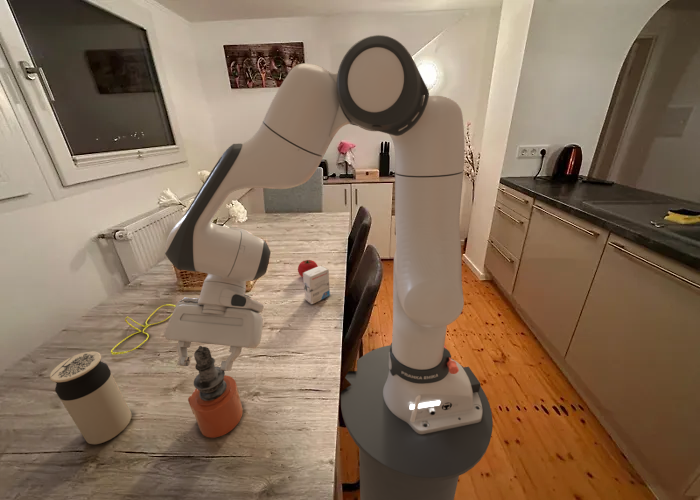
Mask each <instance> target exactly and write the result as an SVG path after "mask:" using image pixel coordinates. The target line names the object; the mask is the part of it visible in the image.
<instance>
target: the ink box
mask: <svg viewBox="0 0 700 500" xmlns="http://www.w3.org/2000/svg"><path fill="white" fill-rule="evenodd" d="M317 266H318V267H316V268H313V269H311V270H308V271H306V272H304V273H303V277H302V282H303V288H304V299H305V300H306V302H308V303H309V304H310V305H314V304H316V303H318V302H321V301H322V300H324V299H326V298H328V297H330V296H331V291H330V274H329V269H328V268H327V267H325V266H323V265H317Z"/></svg>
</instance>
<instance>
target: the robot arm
mask: <svg viewBox="0 0 700 500" xmlns="http://www.w3.org/2000/svg"><path fill="white" fill-rule="evenodd" d="M463 116H464V115H463V111H462V108H461V106H460V105H459V104H458V103H457V102H456V101H455V100H453V99H451V98H450V97H447V96H442V95H430V92H429V89H428V87H427V85H426V83H425V81H424V79H423V77H422V75H421V72H420V71H419V69H418V66H417V64H416V62H415V60H414V57H412V55H411V53H410V52H409V51H408V49H407V48H406V46H404V45H403V44H402V43H401V42H400V41H398V40H397V39H395V38H392V37H391V36H388V35H383V34H375V35H370V36H366V37H364V38H362V39H360V40H358V41H357V42H355V43H354V44H353V45H352V46H351V47H350V48H349V49H348V50H347V52H346V53H345V55H344V56H343V58H342V60H341V62H340V64H339V67H338V70H337V72H331V71H330V70H329V71H328V70H327V69H325V68H324V67H323V66H320V65H317V64H314V63H306V62H305V63H304V62H303V63H298V64H297V65H294V67H292V68H291V70H289V72H288V73H287V75H286V77H285V78H284V79H283V81H282V83H281V84H280V86H279V87H278V89H277V91H276V93H275V95H274V97H273V99H272V100H271V102H270V105H269V107H268V108H267V111H266V113H265V115H264V118H263V121H262V123H261V125H260V127H259V128H258V130H257V131H256V132H255V133H254V135H253V136H252V137H250V138H249V139H248V140H246V141H244V142H243V143H233V144H231V145H230V146H229V147H228V148H226V150H225V151H224V152H223V153H222V155H221V156H220V157H219V159H218V160H217V162H216V163H215V165H214V167H213V168H212V170H211V171H210V172H209V174H208V176H207V178H206V179H205V181H204V183H203V184H202V186H201V187H200V188H199V190H198V192H197V193H196V195H195V197H194V198H193V200H192V202H191V204H190V205H189V207H188V208H187V210H186V211H185V213H184V214H183V216H182V217H181V219H179V220H178V222H177V223H175V225H174V226H173V228H172V229H171V230H170V231H169V234H168V236H167V239H166V241H165V246H164V248H165V252H164V255H165V256H166V257H167V260H169V262H170V263H171V264H172V265H173V266H174V267H175V268H176V270H182V271H188V272H195V273H197V272H199V273H204V274H207V275H206V277H205V278H204V281H203V283H202V287H201V290H200V294H199V297H184V298H183V299H181V300H179V301H177V302H176V304H175V305H176V307H174V310H173V311H172V313H171V314H172V315H171V314H170V315H171V317H170V318H168V319H169V320H168V322H167V324H166V327H165V329H164V332H163V336H164V339H165V340H168V341H176V342H177V345H176V349H177V353H178V356H179V357H178V360H177V363H176V365H177V366H179V367H189V366H190V364H191V360H192V356H189V352H188V351H189V350H188V348H191V344H192V343H196V344H205V345H215V346H216V345H217V346H226V347H229V351H228V352H229V353H230V354H229V355H228V357H227V358H226V360H221V363H220V366H219V367H220V370H222V371H224V372H230V371H232V368H233V364H234V362H235V361H236V360H237V359H238V357H239V356H240V355H241V353H242V348H244V349H245V348H246V349H257V348H258V346H259V345H260V344H261V342H262V341H261V339H262V335H263V327H264V320H263V319H264V318H263V316H262V315H261V313H263V311H264V308H265V305H264V304H263V302H261V301H259V300H257V299H255V298H252V297H251V296H249V295H247V294H246V291H247V282H254V281H255V280H256V281H257V280H259V279H260V278H262V277H263V276H264V275H266V274H267V270H268V267H269V264H270V263H269V262H270V258H271V249H270V247H269V245H268V243H267V241H266V240H265V239H263V238H261V237H259V236H257V235H254V234H253V233H252V232H250V231H249V230H247V229H245V228H242V227H236V226H232V227H231V226H230V227H226V226H224V225H220V224H217V223H214V222H212V221H213V220H214V217H215V216H216V214H217V213H218V212H219V210H220V208H221V207H222V205H223V204H224V203H225V201H226V199H227V198H229V196H230V195H231V194H232V193H234V192H237V191H239V190H245V189H273V190H286V189H287V190H288V189H293V188H296V187H298V186H299V187H300V186H301V185H304V184H305V183H307V182H308V181H309V180H310V179H311V178H312V177H313V175H314V174H315V172H316V171H317V170H318V168H319V166H320V164H321V162H322V160H323V159H324V156H325V155H326V152H327V151H328V148H329V146H330V145H331V143H332V141H333V139H334V137H335V136H336V134H337V133H338V132H339V131H340V130H341V129H342V128H343V127H345V126H347V125H352V126H356V127H359V128H361V129H363V130H366V131H369V132H379V133H380V132H381V133H382V134H383V133H384V134H388V135H389V137H390V138H391V140H392V144H393V149H394V222H395V223H394V224H395V227H394V229H395V252H394V254H393V274H392V275H393V276H392V277H393V278H392V281H393V283H392V333H391V334H392V336H391V343H390V345H391V346H390V352H389V369H390V370H389V375H388V378H387V381H386V383H385V385H384V388H383V397H384V400H385V403H386V405H387V407H388V408H389V409H390V411H391V412H392V413H393V414H394V415H396V416H397V417H398V418H400V419H402V420H404V421H405V422H407V423H408V424H409V425H410V426H411V427H412V428H413V430H414V431H415V432H417V433H418V434H426V433H431V432H436V431H441V430H445V429H450V428H455V427H460V426H465V425H469V424H474V423H478V422H481V419H482V404H481V401H480V398H479V395H478V393H477V392H479V390H480V386H482V384H481V382H480V380H478V379H479V378H477V376H476V375H475V373H474V372H473V371H472V369H471V368H470V366H463V365H462V364H460V363H459V362H458V361H456V360H455V359H453V358H452V355H451V351H450V350H449V349H447V346H446V344H445V341H446V337H447V336H446V335H447V329H448V328H447V327H448V326H449V325H451V324H452V323H454V322H455V321H456V320H457V319H458V318H459V317H460V316H461V314H462V312H463V310H464V306H465V304H464V303H465V300H464V290H463V278H462V275H463V274H462V271H463V270H462V269H463V268H462V263H463V262H462V243H461V242H462V241H461V225H460V224H461V223H460V221H461V219H460V217H461V204H462V193H463V192H462V191H463V181H464V171H465V154H466V153H465V152H466V151H465V150H466V149H465V147H466V145H465V143H466V142H465V125H464V119H463V118H464V117H463ZM452 359H453V360H452ZM461 365H462V366H463V367H462V366H461ZM476 408H477V409H476ZM478 409H479V410H478ZM424 426H427V427H424Z"/></svg>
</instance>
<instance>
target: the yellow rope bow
mask: <svg viewBox="0 0 700 500" xmlns="http://www.w3.org/2000/svg"><path fill="white" fill-rule="evenodd" d="M166 306H167V307H173V308H175V307H176V304H172V303H171V304H170V303H167V304H163V305H160V306H159V307H158V308H156V309H155V310H154V311H153V312H152V313H151V314H150V315H149V316H148V318H147V319H146V320H145V323H144V324H145V325H143V324H141V323H139V322H137V321H135V320H134V319H133V318H131V317H130V316H126V317H125V319H124V321H125V323H126V324H127V325H129V326H130V327H131V328H133V330H136V332H134V333H131V334H129V335H128V336H126V337H125V338H124V339H122V340H121V341H120V342H118V343H117V344H116V345H115V346H113V348H112V349H110V354H111V355H113V356H115V355H123V354H127V353H130V352H133V351H135V350H137V349H138V348H139V347H141V346H142V345H143V344H144V343H145V342H147V341H148V340H149V338H150V335H149V333H148V332H145V330H146V329H147V328H148V327H150V326H154V325H158V324H161V323H163V322H166V321H167V320H168V319H170V317H171V315H172V313H171V314H170V315H169V316H168V317H166V318H165V319H163V320H160V321H158V322H154V323H150V324H148V321H149V319H150V318H151V317H152V316H153V315H154V314H155V313H156V312H157V311H159V309H161V308H162V307H166ZM127 319H129V320H130V321H131V322H133V323H135V324H136V325H138V326H140V327H142V328H143V329H142V330H141V329H139V328H137V327H135V326H133V325H132V324H131V323H129V321H128V320H127ZM141 332H142V334H144V335H146V339H145V340H143V342H141V343H140V344H139V345H137V346H136V347H134V348H132V349H130V350H125V351H118V352H116V351H115V352H114V350H115V349H116V348H117V347H118V346H120V344H122V343H123V342H124V341H126V340H127V339H129V338H130V337H132V336H134V335H136V334H139V333H141Z"/></svg>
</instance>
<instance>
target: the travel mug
mask: <svg viewBox="0 0 700 500" xmlns="http://www.w3.org/2000/svg"><path fill="white" fill-rule="evenodd" d="M101 360H102V354H101V353H100V352H98V351H85V352H81V353H78V354H75V355H73V356H70V357H69V358H66V359H65V360H63V361H62V362H60V363H59V364H58V365H57V366H55V367H54V368H53V369H52V370H51V372H50V373H49V380H50V381H51V382H52V383H55V388H54V391H55V393H56V395H57V396H58V398H59V400H60V401H61V403H62V404H63V406H64V408H65V409H66V411H67V412H68V414H69V416H70V417H71V419H72V421H73V422H74V424H75V425H76V427H77V428H78V431H79V432H80V433H81V435H82V437H83V438H84V440H85V442H86V443H87V444H90V445H100V444H102V443H105V442H108V441H110V440H112V439H113V438H115V437H117V436H118V435H119V434H120V433H122V432H123V431H124V430H125V429H126V427H128V425H129V424H130V422H131V420H132V412H131V410H130V408H129V405H128V404H127V401H126V400H125V397H124V395H123V393H122V392H121V390H120V387H119V386H118V383H117V382H116V379H115V377H114V375H113V373H112V371H111V369H110V367H109V365H108V364H107V363H106V362H104V361H101Z"/></svg>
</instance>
